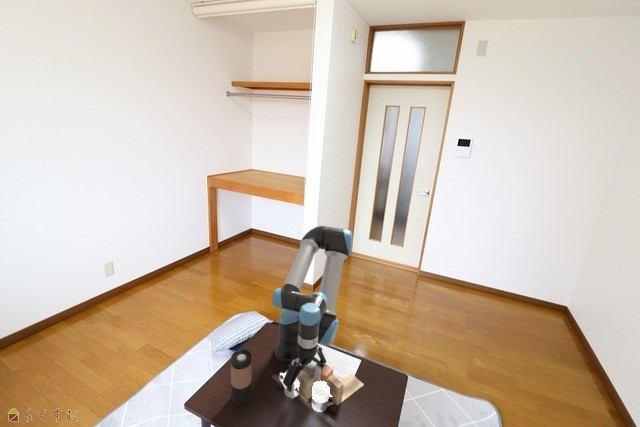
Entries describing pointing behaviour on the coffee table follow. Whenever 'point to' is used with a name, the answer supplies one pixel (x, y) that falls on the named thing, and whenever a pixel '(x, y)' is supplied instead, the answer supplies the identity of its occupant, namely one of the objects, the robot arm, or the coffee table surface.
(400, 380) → the coffee table surface
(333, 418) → the coffee table surface
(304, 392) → the wooden slider
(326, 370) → the cube
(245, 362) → the travel mug
